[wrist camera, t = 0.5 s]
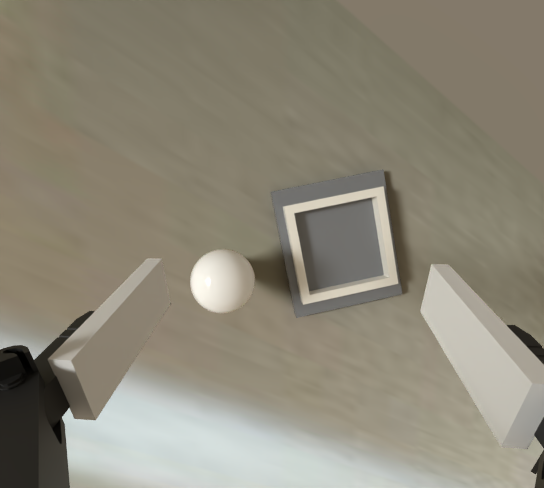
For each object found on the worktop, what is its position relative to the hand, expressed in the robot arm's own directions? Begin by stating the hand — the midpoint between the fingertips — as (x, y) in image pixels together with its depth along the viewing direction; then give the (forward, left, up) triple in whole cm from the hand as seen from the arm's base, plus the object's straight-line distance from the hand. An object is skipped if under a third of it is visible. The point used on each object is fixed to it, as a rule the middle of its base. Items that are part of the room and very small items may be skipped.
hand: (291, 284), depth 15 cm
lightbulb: (+2, -5, -23) cm, 24 cm away
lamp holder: (+2, +9, -23) cm, 24 cm away
